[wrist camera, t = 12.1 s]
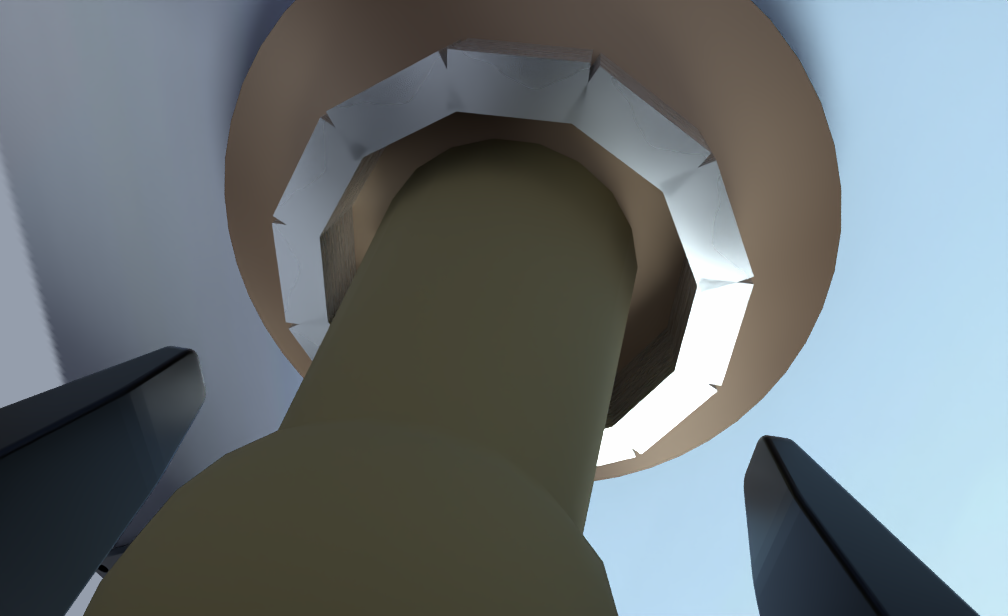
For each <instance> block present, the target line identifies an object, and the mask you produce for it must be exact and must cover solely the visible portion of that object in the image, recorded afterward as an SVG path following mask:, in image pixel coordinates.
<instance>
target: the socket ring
mask: <svg viewBox="0 0 1008 616" xmlns="http://www.w3.org/2000/svg"><path fill="white" fill-rule="evenodd" d="M592 52H593V49H582V48H571V47H560V46H550V45H539V44H528V43H518V42H507V41H496V40H485V39H475V38H468V39H466V40H464V41H461V40H459V41H457V42H455V43H453V44H451V45H449V46H447V47H445V48H443V49H441V50H439V51H437V52H435V53H433V54H431V55H430V56H428V57H426V58H424V59H422V60H420V61H418V62H417V63H415V64H413V65H411V66H409V67H407V68H405V69H404V70H402V71H400V72H398V73H396V74H394V75H392V76H391V77H389V78H387V79H385V80H383V81H381V82H379V83H378V84H376V85H374V86H372V87H370V88H368V89H366V90H365V91H363V92H361V93H359V94H357V95H355V96H353V97H352V98H350V99H348V100H346V101H344V102H342V103H341V104H339V105H337V106H335V107H333V108H331V109H329V110H328V111H326V113H327V114H326V115H324V116H322V117H320V119H319V121H318V123H317V125H316V127H315V129H314V131H313V133H312V135H311V138H310V140H309V142H308V144H307V146H306V148H305V150H304V152H303V154H302V156H301V158H300V160H299V163H298V165H297V167H296V169H295V171H294V173H293V175H292V177H291V179H290V181H289V183H288V185H287V187H286V190H285V192H284V194H283V196H282V198H281V200H280V202H279V204H278V206H277V208H276V210H275V212H274V215H273V216H274V217H275V218H277V219H276V220H275V221H274V222H273V223H272V227H273V234H274V242H275V249H276V256H277V263H278V270H279V277H280V284H281V291H282V298H283V305H284V313H285V320H286V322H287V323H293V324H292V325H291V326H290V327H289V330H290V331H291V333H292V334H293V335H294V337H295V338H296V340H297V341H298V342H299V344H300V345H301V346H302V348H303V349H304V351H305V352H306V353H307V355H308V356H309V358H310V359H311V360H312V361H313V359H314V357H315V355H316V353H317V351H318V349H319V347H320V345H321V343H322V341H323V339H324V336H325V334H326V332H327V330H328V328H329V326H330V324H331V322H332V320H333V318H334V316H335V314H336V312H337V310H338V308H339V306H340V304H341V302H342V300H343V298H344V296H345V294H346V292H347V290H348V288H349V286H350V284H351V282H352V280H353V278H354V276H355V274H356V259H355V244H354V229H353V213H352V206H353V204H354V202H355V200H356V199H357V197H358V195H359V193H360V192H361V190H362V188H363V186H364V184H365V183H366V181H367V179H368V177H369V176H370V174H371V172H372V170H373V168H374V167H375V165H376V163H377V161H378V160H379V158H380V156H381V154H382V152H383V151H384V149H385V147H386V146H387V145H389V144H391V143H393V142H395V141H397V140H399V139H401V138H403V137H405V136H408V135H410V134H412V133H414V132H416V131H418V130H420V129H422V128H424V127H426V126H428V125H430V124H432V123H434V122H436V121H438V120H440V119H442V118H444V117H446V116H448V115H450V114H452V113H454V112H456V111H457V112H467V113H476V114H485V115H495V116H504V117H514V118H523V119H533V120H542V121H552V122H561V123H571V124H573V125H574V126H576V127H577V128H578V129H580V130H581V131H582V132H584V133H585V134H586V135H588V136H589V137H590V138H592V139H593V140H594V141H596V142H597V143H598V144H600V145H601V146H602V147H604V148H605V149H606V150H608V151H609V152H610V153H612V154H613V155H614V156H616V157H617V158H618V159H620V160H621V161H622V162H624V163H625V164H626V165H628V166H629V167H630V168H632V169H633V170H634V171H636V172H637V173H638V174H640V175H641V176H642V177H644V178H645V179H646V180H648V181H649V182H650V183H652V184H653V185H654V186H656V187H657V188H658V189H660V190H661V191H662V192H663V194H664V196H665V199H666V202H667V204H668V207H669V210H670V213H671V215H672V218H673V221H674V223H675V226H676V229H677V232H678V234H679V237H680V240H681V242H682V245H683V248H684V250H685V257H684V261H683V265H682V269H681V273H680V277H679V281H678V285H677V289H676V293H675V297H674V301H673V305H672V309H671V314H670V318H669V322H668V326H667V327H666V328H665V329H664V330H663V331H662V332H661V333H660V334H659V335H658V336H657V337H656V338H655V339H654V340H653V341H652V342H651V343H650V344H648V345H647V346H646V347H645V348H644V349H643V350H642V351H641V352H640V353H639V354H638V355H637V356H636V357H635V358H634V359H633V360H632V361H631V362H630V363H629V364H628V365H627V366H626V367H625V368H624V369H622V370H621V371H620V372H619V373H618V374H617V375H616V376H615V380H614V385H613V390H612V395H611V400H610V405H609V409H608V414H607V419H606V424H605V429H604V434H603V439H602V443H601V448H600V453H599V458H598V463H597V466H599V465H603V464H607V463H611V462H615V461H620V460H624V459H628V458H632V457H635V450H636V451H638V452H639V453H641V454H642V453H643V452H644V451H646V450H647V449H648V448H649V447H650V446H652V445H653V444H654V443H655V442H656V441H658V440H659V439H660V438H661V437H662V436H664V435H665V434H666V433H667V432H668V431H670V430H671V429H672V428H673V427H674V426H676V425H677V424H678V423H679V422H680V421H682V420H683V419H684V418H685V417H686V416H688V415H689V414H690V413H691V412H692V411H694V410H695V409H696V408H697V407H698V406H700V405H701V404H702V403H703V402H704V401H706V400H707V399H708V398H709V397H710V396H712V395H713V394H714V393H715V392H716V391H717V388H716V384H718V385H721V384H722V381H723V378H724V375H725V372H726V369H727V366H728V362H729V359H730V356H731V353H732V350H733V347H734V344H735V341H736V338H737V335H738V332H739V328H740V325H741V322H742V319H743V316H744V313H745V310H746V307H747V304H748V301H749V297H750V294H751V291H752V288H753V285H754V284H753V282H752V280H751V277H754V276H753V273H752V270H751V267H750V263H749V260H748V257H747V254H746V251H745V248H744V245H743V242H742V239H741V236H740V232H739V229H738V226H737V223H736V220H735V217H734V214H733V211H732V208H731V204H730V201H729V198H728V195H727V192H726V189H725V186H724V183H723V180H722V176H721V173H720V170H719V167H718V164H717V161H716V159H715V157H714V155H713V154H712V152H711V150H710V148H709V147H708V145H707V143H706V141H705V139H704V138H703V136H702V135H701V134H700V132H699V130H698V129H697V128H696V127H695V126H694V125H692V124H691V123H690V122H689V121H687V120H686V119H685V118H684V117H682V116H681V115H680V114H678V113H677V112H676V111H675V110H673V109H672V108H671V107H670V106H668V105H667V104H666V103H664V102H663V101H662V100H661V99H659V98H658V97H657V96H655V95H654V94H653V93H652V92H650V91H649V90H648V89H647V88H645V87H644V86H643V85H641V84H640V83H639V82H638V81H636V80H635V79H634V78H633V77H631V76H630V75H629V74H627V73H626V72H625V71H624V70H622V69H621V68H620V67H618V66H617V65H616V64H615V63H613V62H612V61H611V60H610V59H608V58H607V57H606V56H604V55H603V54H602V53H600V55H599V56H598V58H597V59H596V60H595V62H594V63H593V65H592V66H591V59H592Z"/></svg>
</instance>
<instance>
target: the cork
mask: <svg viewBox="0 0 1008 616" xmlns="http://www.w3.org/2000/svg"><path fill="white" fill-rule="evenodd" d="M637 269H638V266H637V259H636V253H635V246H634V240H633V233H632V228H631V226H630V224H629V223H628V221H627V219H626V217H625V215H624V213H623V212H622V210H621V208H620V206H619V204H618V202H617V200H616V199H615V197H614V195H613V193H612V192H611V191H610V190H609V189H608V188H607V187H606V186H605V185H604V184H603V183H602V182H600V181H599V180H598V179H597V178H596V177H595V176H594V175H593V174H592V173H591V172H590V171H589V170H587V169H586V168H585V167H584V166H583V165H582V164H581V163H580V162H578V161H576V160H574V159H571V158H569V157H567V156H565V155H563V154H560V153H558V152H556V151H554V150H552V149H549V148H547V147H545V146H543V145H541V144H538V143H530V142H521V141H512V140H503V139H494V138H493V139H488V140H484V141H479V142H474V143H470V144H465V145H460V146H456V147H451V148H449V149H448V150H446V151H444V152H443V153H441V154H440V155H438V156H436V157H435V158H433V159H431V160H430V161H428V162H427V163H425V164H423V165H422V166H420V167H418V168H417V169H416V170H415V171H414V172H413V174H412V175H411V176H410V177H409V179H408V180H407V181H406V182H405V184H404V185H403V186H402V188H401V189H400V190H399V191H398V193H397V194H396V195H395V197H394V198H393V199H392V201H391V203H390V205H389V207H388V209H387V211H386V213H385V215H384V217H383V219H382V221H381V223H380V225H379V227H378V229H377V231H376V233H375V235H374V237H373V239H372V241H371V244H370V246H369V248H368V250H367V252H366V254H365V256H364V258H363V260H362V262H361V264H360V266H359V268H358V270H357V272H356V274H355V276H354V278H353V280H352V282H351V284H350V286H349V288H348V290H347V292H346V294H345V296H344V298H343V300H342V302H341V304H340V306H339V308H338V310H337V312H336V314H335V316H334V318H333V320H332V322H331V324H330V326H329V328H328V330H327V332H326V334H325V336H324V339H323V341H322V343H321V345H320V347H319V349H318V351H317V353H316V355H315V357H314V359H313V361H312V363H311V365H310V367H309V369H308V371H307V373H306V375H305V377H304V379H303V381H302V383H301V385H300V387H299V389H298V391H297V393H296V395H295V397H294V399H293V401H292V403H291V405H290V407H289V409H288V411H287V413H286V415H285V417H284V419H283V421H282V423H281V425H280V427H279V429H278V431H276V432H274V433H271V434H269V435H267V436H265V437H263V438H260V439H258V440H256V441H254V442H252V443H249V444H247V445H245V446H243V447H241V448H238V449H236V450H234V451H232V452H230V453H227V454H225V455H224V456H223V457H221V458H220V459H219V460H217V461H216V462H214V463H213V464H212V465H210V466H209V467H208V468H206V469H205V470H203V471H202V472H201V473H199V474H198V475H197V476H195V477H194V478H193V479H191V480H190V481H188V482H187V483H186V484H184V485H183V486H182V487H180V488H179V489H177V490H176V491H175V493H174V494H173V495H172V496H171V497H170V498H169V500H168V501H167V502H166V503H165V504H164V505H163V507H162V508H161V509H160V510H159V511H158V512H157V514H156V515H155V516H154V517H153V518H152V520H151V521H150V522H149V523H148V524H147V525H146V527H145V528H144V529H143V530H142V531H141V532H140V534H139V535H138V536H137V537H136V538H135V539H134V541H133V542H132V543H131V544H130V545H129V547H128V548H127V549H126V550H125V552H124V553H123V554H122V555H121V557H120V558H119V559H118V560H117V562H116V563H115V564H114V565H113V567H112V568H111V569H110V570H109V572H108V573H107V574H106V575H105V577H104V578H103V579H102V581H101V582H100V584H99V586H98V587H97V589H96V591H95V593H94V595H93V597H92V599H91V601H90V603H89V605H88V607H87V609H86V611H85V613H84V615H83V616H618V613H617V610H616V606H615V603H614V599H613V596H612V592H611V588H610V585H609V581H608V578H607V574H606V571H605V567H604V564H603V561H602V560H601V559H600V557H599V556H598V555H597V553H596V552H595V551H594V549H593V548H592V547H591V545H590V544H589V543H588V541H587V540H586V539H585V537H584V536H583V531H584V526H585V521H586V516H587V511H588V507H589V502H590V497H591V492H592V487H593V482H594V477H595V473H596V468H597V463H598V458H599V453H600V448H601V443H602V439H603V434H604V429H605V424H606V419H607V414H608V409H609V405H610V400H611V395H612V390H613V385H614V380H615V375H616V371H617V366H618V361H619V356H620V351H621V346H622V341H623V337H624V332H625V327H626V322H627V317H628V312H629V307H630V303H631V298H632V293H633V288H634V283H635V278H636V273H637Z"/></svg>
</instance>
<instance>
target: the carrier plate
mask: <svg viewBox="0 0 1008 616" xmlns="http://www.w3.org/2000/svg"><path fill="white" fill-rule="evenodd" d="M468 38H475V39H485V40H496V41H507V42H518V43H528V44H539V45H550V46H560V47H571V48H582V49H593V52H592V59H591V66H592V65H593V63H594V62H595V60H596V59H597V58H598V56H599V55H600V53H602V54H603V55H604V56H606V57H607V58H608V59H610V60H611V61H612V62H613V63H615V64H616V65H617V66H618V67H620V68H621V69H622V70H624V71H625V72H626V73H627V74H629V75H630V76H631V77H633V78H634V79H635V80H636V81H638V82H639V83H640V84H641V85H643V86H644V87H645V88H647V89H648V90H649V91H650V92H652V93H653V94H654V95H655V96H657V97H658V98H659V99H661V100H662V101H663V102H664V103H666V104H667V105H668V106H670V107H671V108H672V109H673V110H675V111H676V112H677V113H678V114H680V115H681V116H682V117H684V118H685V119H686V120H687V121H689V122H690V123H691V124H692V125H694V126H695V127H696V128H697V129H698V130H699V132H700V134H701V135H702V136H703V138H704V139H705V141H706V143H707V145H708V147H709V148H710V150H711V152H712V154H713V155H714V157H715V159H716V161H717V164H718V167H719V170H720V173H721V176H722V180H723V183H724V186H725V189H726V192H727V195H728V198H729V201H730V204H731V208H732V211H733V214H734V217H735V220H736V223H737V226H738V229H739V232H740V236H741V239H742V242H743V245H744V248H745V251H746V254H747V257H748V260H749V263H750V267H751V270H752V273H753V276H754V277H751V280H752V282H753V284H754V285H753V288H752V291H751V294H750V297H749V301H748V304H747V307H746V310H745V313H744V316H743V319H742V322H741V325H740V328H739V332H738V335H737V338H736V341H735V344H734V347H733V350H732V353H731V356H730V359H729V362H728V366H727V369H726V372H725V375H724V378H723V381H722V384H721V385H718V384H716V388H717V391H716V392H715V393H714V394H713V395H712V396H710V397H709V398H708V399H707V400H706V401H704V402H703V403H702V404H701V405H700V406H698V407H697V408H696V409H695V410H694V411H692V412H691V413H690V414H689V415H688V416H686V417H685V418H684V419H683V420H682V421H680V422H679V423H678V424H677V425H676V426H674V427H673V428H672V429H671V430H670V431H668V432H667V433H666V434H665V435H664V436H662V437H661V438H660V439H659V440H658V441H656V442H655V443H654V444H653V445H652V446H650V447H649V448H648V449H647V450H646V451H644V452H643V453H642V454H641V453H639V452H638V451H636V450H635V457H632V458H628V459H624V460H620V461H615V462H611V463H607V464H603V465H599V466H597V468H596V473H595V477H594V481H597V480H603V479H609V478H615V477H620V476H623V475H627V474H630V473H634V472H638V471H641V470H645V469H648V468H651V467H654V466H656V465H659V464H661V463H664V462H666V461H669V460H671V459H674V458H676V457H679V456H681V455H683V454H685V453H686V452H688V451H690V450H692V449H694V448H696V447H698V446H700V445H701V444H703V443H705V442H707V441H709V440H711V439H712V438H713V437H715V436H716V435H718V434H719V433H721V432H722V431H724V430H725V429H726V428H728V427H729V426H731V425H732V424H734V423H735V422H737V421H738V420H739V419H740V418H741V417H742V416H743V415H745V414H746V413H747V412H748V411H749V410H750V409H751V408H752V407H754V406H755V405H756V404H757V403H758V402H759V401H760V400H762V399H763V398H764V396H765V395H766V394H767V393H768V392H769V391H770V390H771V388H772V387H773V386H774V385H775V384H776V383H777V382H778V381H779V379H780V378H781V377H782V376H783V375H784V374H785V373H786V371H787V370H788V368H789V367H790V365H791V364H792V362H793V361H794V359H795V358H796V356H797V355H798V353H799V352H800V350H801V349H802V347H803V346H804V344H805V343H806V341H807V339H808V337H809V335H810V333H811V331H812V329H813V327H814V325H815V323H816V321H817V319H818V317H819V314H820V312H821V310H822V308H823V305H824V302H825V299H826V296H827V293H828V290H829V287H830V283H831V280H832V277H833V274H834V271H835V265H836V258H837V252H838V246H839V240H840V233H841V185H840V178H839V171H838V165H837V158H836V152H835V145H834V142H833V139H832V136H831V133H830V130H829V126H828V123H827V120H826V117H825V114H824V111H823V108H822V105H821V102H820V100H819V98H818V96H817V94H816V92H815V90H814V88H813V86H812V84H811V82H810V80H809V78H808V76H807V74H806V72H805V70H804V68H803V66H802V64H801V62H800V60H799V59H798V57H797V56H796V55H795V53H794V52H793V50H792V49H791V48H790V46H789V45H788V43H787V42H786V41H785V39H784V38H783V37H782V35H781V34H780V32H779V31H778V30H777V28H776V27H775V26H774V24H773V23H772V21H771V20H770V19H769V18H768V17H767V16H766V15H765V14H764V13H763V12H762V11H761V10H760V9H759V8H758V7H757V6H756V5H755V4H754V3H753V2H752V1H751V0H295V1H294V2H293V4H292V5H291V6H290V7H289V8H288V9H287V10H286V11H285V12H284V13H283V15H282V16H281V18H280V19H279V20H278V22H277V23H276V25H275V26H274V28H273V29H272V31H271V32H270V34H269V35H268V36H267V38H266V39H265V41H264V42H263V44H262V45H261V47H260V48H259V51H258V53H257V55H256V57H255V59H254V61H253V63H252V65H251V67H250V69H249V71H248V73H247V75H246V78H245V80H244V82H243V84H242V87H241V90H240V94H239V97H238V100H237V103H236V107H235V110H234V113H233V116H232V119H231V124H230V131H229V137H228V144H227V150H226V156H225V203H226V211H227V220H228V229H229V234H230V238H231V242H232V246H233V250H234V254H235V258H236V262H237V265H238V268H239V271H240V273H241V276H242V279H243V281H244V284H245V287H246V289H247V292H248V294H249V297H250V299H251V301H252V303H253V305H254V307H255V308H256V310H257V312H258V314H259V316H260V318H261V320H262V322H263V324H264V326H265V327H266V329H267V330H268V332H269V333H270V335H271V336H272V338H273V339H274V341H275V342H276V344H277V345H278V347H279V348H280V350H281V351H282V353H283V354H284V355H285V357H286V358H287V359H288V360H289V361H290V363H291V364H292V365H293V366H294V368H295V369H296V370H297V371H298V372H299V374H300V375H301V376H302V377H303V378H304V377H305V375H306V373H307V371H308V369H309V367H310V365H311V363H312V360H311V359H310V358H309V356H308V355H307V353H306V352H305V351H304V349H303V348H302V346H301V345H300V344H299V342H298V341H297V340H296V338H295V337H294V335H293V334H292V333H291V331H290V330H289V327H290V326H291V325H292V324H293V323H287V322H286V320H285V313H284V305H283V298H282V291H281V284H280V277H279V270H278V263H277V256H276V249H275V242H274V234H273V227H272V223H273V222H274V221H275V220H276V219H277V218H275V217H274V216H273V215H274V212H275V210H276V208H277V206H278V204H279V202H280V200H281V198H282V196H283V194H284V192H285V190H286V187H287V185H288V183H289V181H290V179H291V177H292V175H293V173H294V171H295V169H296V167H297V165H298V163H299V160H300V158H301V156H302V154H303V152H304V150H305V148H306V146H307V144H308V142H309V140H310V138H311V135H312V133H313V131H314V129H315V127H316V125H317V123H318V121H319V119H320V117H322V116H324V115H326V114H327V113H326V111H328V110H329V109H331V108H333V107H335V106H337V105H339V104H341V103H342V102H344V101H346V100H348V99H350V98H352V97H353V96H355V95H357V94H359V93H361V92H363V91H365V90H366V89H368V88H370V87H372V86H374V85H376V84H378V83H379V82H381V81H383V80H385V79H387V78H389V77H391V76H392V75H394V74H396V73H398V72H400V71H402V70H404V69H405V68H407V67H409V66H411V65H413V64H415V63H417V62H418V61H420V60H422V59H424V58H426V57H428V56H430V55H431V54H433V53H435V52H437V51H439V50H441V49H443V48H445V47H447V46H449V45H451V44H453V43H455V42H457V41H459V40H461V41H464V40H466V39H468ZM493 138H494V139H503V140H512V141H521V142H530V143H538V144H541V145H543V146H545V147H547V148H549V149H552V150H554V151H556V152H558V153H560V154H563V155H565V156H567V157H569V158H571V159H574V160H576V161H578V162H580V163H581V164H582V165H583V166H584V167H585V168H586V169H587V170H589V171H590V172H591V173H592V174H593V175H594V176H595V177H596V178H597V179H598V180H599V181H600V182H602V183H603V184H604V185H605V186H606V187H607V188H608V189H609V190H610V191H611V192H612V193H613V195H614V197H615V199H616V200H617V202H618V204H619V206H620V208H621V210H622V212H623V213H624V215H625V217H626V219H627V221H628V223H629V224H630V226H631V228H632V233H633V240H634V246H635V253H636V259H637V266H638V269H637V273H636V278H635V283H634V288H633V293H632V298H631V303H630V307H629V312H628V317H627V322H626V327H625V332H624V337H623V341H622V346H621V351H620V356H619V361H618V366H617V371H616V375H617V374H618V373H619V372H620V371H621V370H622V369H624V368H625V367H626V366H627V365H628V364H629V363H630V362H631V361H632V360H633V359H634V358H635V357H636V356H637V355H638V354H639V353H640V352H641V351H642V350H643V349H644V348H645V347H646V346H647V345H648V344H650V343H651V342H652V341H653V340H654V339H655V338H656V337H657V336H658V335H659V334H660V333H661V332H662V331H663V330H664V329H665V328H666V327H667V326H668V322H669V318H670V314H671V309H672V305H673V301H674V297H675V293H676V289H677V285H678V281H679V277H680V273H681V269H682V265H683V261H684V257H685V250H684V248H683V245H682V242H681V240H680V237H679V234H678V232H677V229H676V226H675V223H674V221H673V218H672V215H671V213H670V210H669V207H668V204H667V202H666V199H665V196H664V194H663V192H662V191H661V190H660V189H658V188H657V187H656V186H654V185H653V184H652V183H650V182H649V181H648V180H646V179H645V178H644V177H642V176H641V175H640V174H638V173H637V172H636V171H634V170H633V169H632V168H630V167H629V166H628V165H626V164H625V163H624V162H622V161H621V160H620V159H618V158H617V157H616V156H614V155H613V154H612V153H610V152H609V151H608V150H606V149H605V148H604V147H602V146H601V145H600V144H598V143H597V142H596V141H594V140H593V139H592V138H590V137H589V136H588V135H586V134H585V133H584V132H582V131H581V130H580V129H578V128H577V127H576V126H574V125H573V124H571V123H561V122H552V121H542V120H533V119H523V118H514V117H504V116H495V115H485V114H476V113H467V112H457V111H456V112H454V113H452V114H450V115H448V116H446V117H444V118H442V119H440V120H438V121H436V122H434V123H432V124H430V125H428V126H426V127H424V128H422V129H420V130H418V131H416V132H414V133H412V134H410V135H408V136H405V137H403V138H401V139H399V140H397V141H395V142H393V143H391V144H389V145H387V146H386V147H385V149H384V151H383V152H382V154H381V156H380V158H379V160H378V161H377V163H376V165H375V167H374V168H373V170H372V172H371V174H370V176H369V177H368V179H367V181H366V183H365V184H364V186H363V188H362V190H361V192H360V193H359V195H358V197H357V199H356V200H355V202H354V204H353V206H352V213H353V229H354V244H355V259H356V272H357V270H358V268H359V266H360V264H361V262H362V260H363V258H364V256H365V254H366V252H367V250H368V248H369V246H370V244H371V241H372V239H373V237H374V235H375V233H376V231H377V229H378V227H379V225H380V223H381V221H382V219H383V217H384V215H385V213H386V211H387V209H388V207H389V205H390V203H391V201H392V199H393V198H394V197H395V195H396V194H397V193H398V191H399V190H400V189H401V188H402V186H403V185H404V184H405V182H406V181H407V180H408V179H409V177H410V176H411V175H412V174H413V172H414V171H415V170H416V169H417V168H418V167H420V166H422V165H423V164H425V163H427V162H428V161H430V160H431V159H433V158H435V157H436V156H438V155H440V154H441V153H443V152H444V151H446V150H448V149H449V148H451V147H456V146H460V145H465V144H470V143H474V142H479V141H484V140H488V139H493ZM616 375H615V376H616Z"/></svg>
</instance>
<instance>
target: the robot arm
mask: <svg viewBox="0 0 1008 616" xmlns="http://www.w3.org/2000/svg"><path fill="white" fill-rule="evenodd" d="M205 395H206V387H205V383H204V379H203V375H202V370H201V366H200V362H199V358H198V355H197V354H196V352H195V351H194V350H192V349H188V348H181V347H175V346H167V347H164V348H161V349H159V350H156V351H153V352H151V353H148V354H145V355H142V356H140V357H137V358H134V359H132V360H129V361H126V362H124V363H121V364H118V365H116V366H113V367H110V368H107V369H105V370H102V371H99V372H97V373H94V374H91V375H89V376H86V377H83V378H81V379H78V380H75V381H73V382H70V383H67V384H64V385H62V386H59V387H57V388H54V389H51V390H48V391H46V392H43V393H40V394H38V395H35V396H32V397H29V398H27V399H24V400H21V401H19V402H16V403H14V404H11V405H8V406H5V407H3V408H0V616H65V614H66V613H67V611H68V610H69V608H70V607H71V606H72V604H73V603H74V601H75V600H76V599H77V597H78V596H79V594H80V593H81V591H82V590H83V589H84V587H85V586H86V584H87V583H88V581H89V580H90V579H91V577H92V576H93V575H94V573H95V572H97V573H98V574H99V575H100V576H101V577H102V578H104V577H105V575H106V574H107V573H108V572H109V570H110V569H111V568H112V567H113V565H114V564H115V563H116V562H117V560H118V559H119V558H120V557H121V555H122V554H123V553H124V552H125V550H126V549H127V548H128V547H129V545H127V546H123V547H119V548H116V549H112V548H113V546H114V545H115V543H116V542H117V541H118V539H119V538H120V536H121V535H122V534H123V532H124V531H125V529H126V528H127V526H128V525H129V524H130V522H131V521H132V519H133V518H134V517H135V515H136V514H137V512H138V511H139V509H140V508H141V507H142V505H143V504H144V502H145V501H146V500H147V498H148V497H149V495H150V494H151V492H152V491H153V489H154V488H155V486H156V485H157V483H158V482H159V480H160V479H161V477H162V475H163V474H164V472H165V470H166V469H167V467H168V465H169V463H170V462H171V460H172V458H173V456H174V454H175V453H176V451H177V449H178V447H179V446H180V444H181V442H182V440H183V439H184V437H185V435H186V433H187V431H188V430H189V428H190V426H191V424H192V423H193V421H194V419H195V417H196V416H197V414H198V412H199V410H200V408H201V407H202V405H203V403H204V400H205ZM744 497H745V507H746V517H747V527H748V537H749V547H750V557H751V567H752V576H753V584H754V589H755V595H756V600H757V605H758V609H759V614H760V616H980V615H979V614H978V613H977V612H976V611H975V610H973V609H972V608H971V607H970V606H969V605H968V604H967V603H966V602H965V601H964V600H963V599H962V598H961V597H960V596H958V595H957V594H956V593H955V592H954V591H953V590H952V589H951V588H950V587H949V586H948V585H947V584H946V583H945V582H944V581H942V580H941V579H940V578H939V577H938V576H937V575H936V574H935V573H934V572H933V571H932V570H931V569H930V568H929V567H928V566H926V565H925V564H924V563H923V562H922V561H921V560H920V559H919V558H918V557H917V556H916V555H915V554H914V553H913V552H911V551H910V550H909V549H908V548H907V547H906V546H905V545H904V544H903V543H902V542H901V541H900V540H899V539H898V538H897V537H895V536H894V535H893V534H892V533H891V532H890V531H889V530H888V529H887V528H886V527H885V526H884V525H883V524H882V523H881V522H879V521H878V520H877V519H876V518H875V517H874V516H873V515H872V514H871V513H870V512H869V511H868V510H867V509H866V508H864V507H863V506H862V505H861V504H860V503H859V502H858V501H857V500H856V499H855V498H854V497H853V496H852V495H851V494H850V493H848V492H847V491H846V490H845V489H844V488H843V487H842V486H841V485H840V484H839V483H838V482H837V481H836V480H835V479H834V478H832V477H831V476H830V475H829V474H828V473H827V472H826V471H825V470H824V469H823V468H822V467H821V466H820V465H819V464H817V463H816V462H815V461H814V460H813V459H812V458H811V457H810V456H809V455H808V454H807V453H806V452H805V451H804V450H803V449H801V448H800V447H799V446H798V445H797V444H796V443H795V442H794V441H792V440H791V439H788V438H782V437H775V436H769V435H765V436H762V437H761V438H760V439H759V441H758V442H757V445H756V447H755V450H754V453H753V455H752V458H751V460H750V463H749V466H748V468H747V471H746V474H745V478H744ZM111 549H112V550H111Z"/></svg>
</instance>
